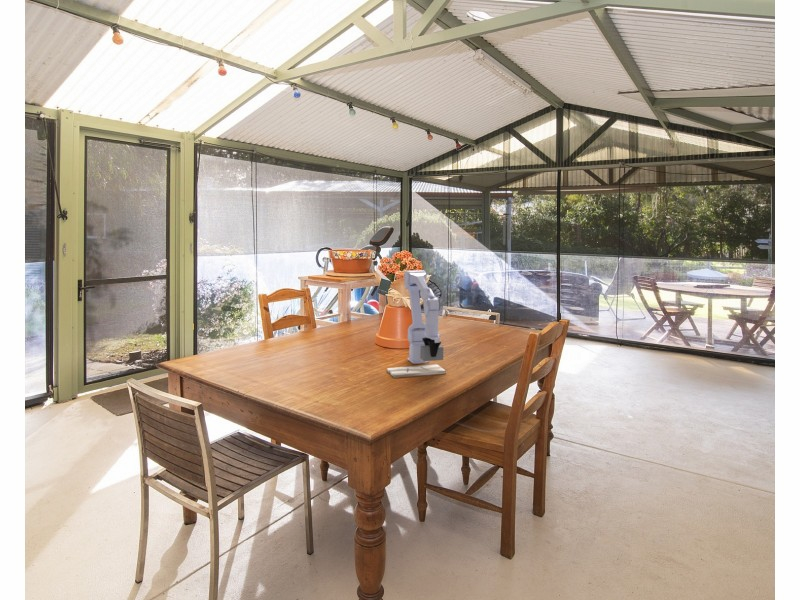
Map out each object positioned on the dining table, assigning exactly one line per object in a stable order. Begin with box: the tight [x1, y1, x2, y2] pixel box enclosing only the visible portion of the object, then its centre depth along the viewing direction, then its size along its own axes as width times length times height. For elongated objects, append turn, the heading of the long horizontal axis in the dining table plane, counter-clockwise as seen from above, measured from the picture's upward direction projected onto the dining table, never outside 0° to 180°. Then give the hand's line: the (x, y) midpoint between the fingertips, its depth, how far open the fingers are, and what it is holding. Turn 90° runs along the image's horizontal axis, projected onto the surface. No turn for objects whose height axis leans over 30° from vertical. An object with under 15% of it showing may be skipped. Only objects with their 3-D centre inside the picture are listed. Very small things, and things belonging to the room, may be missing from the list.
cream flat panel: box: [386, 363, 447, 379], centre depth 219 cm, size 11×24×1 cm, turn 107°
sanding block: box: [420, 344, 444, 362], centre depth 220 cm, size 5×9×6 cm, turn 107°
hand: (431, 355), depth 220 cm, fingers closed on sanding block, 5 cm apart
